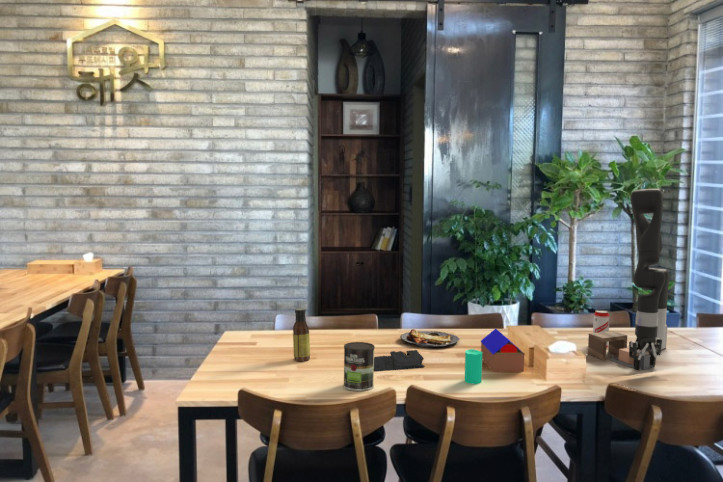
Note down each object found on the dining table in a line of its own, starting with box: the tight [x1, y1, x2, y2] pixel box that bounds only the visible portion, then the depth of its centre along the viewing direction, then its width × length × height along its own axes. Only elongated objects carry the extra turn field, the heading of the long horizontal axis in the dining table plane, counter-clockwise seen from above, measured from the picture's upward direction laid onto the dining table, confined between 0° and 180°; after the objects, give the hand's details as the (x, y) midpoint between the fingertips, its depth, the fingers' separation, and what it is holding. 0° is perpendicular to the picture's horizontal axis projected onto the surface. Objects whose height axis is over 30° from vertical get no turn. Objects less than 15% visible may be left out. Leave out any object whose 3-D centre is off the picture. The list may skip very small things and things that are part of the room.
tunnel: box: [587, 330, 628, 361], centre depth 264 cm, size 12×8×10 cm, turn 114°
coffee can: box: [343, 341, 376, 392], centre depth 228 cm, size 10×10×14 cm
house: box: [480, 328, 525, 373], centre depth 257 cm, size 12×20×12 cm, turn 3°
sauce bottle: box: [292, 307, 311, 363], centre depth 259 cm, size 7×6×20 cm
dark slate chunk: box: [374, 349, 426, 373], centre depth 255 cm, size 15×22×5 cm
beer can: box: [592, 309, 611, 349], centre depth 279 cm, size 6×6×16 cm
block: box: [619, 347, 639, 365], centre depth 255 cm, size 5×5×5 cm
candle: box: [464, 348, 483, 385], centre depth 235 cm, size 6×6×12 cm
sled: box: [609, 353, 654, 371], centre depth 253 cm, size 7×14×6 cm, turn 24°
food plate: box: [399, 329, 461, 348], centre depth 290 cm, size 25×23×4 cm
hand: (644, 368), depth 248 cm, fingers closed on sled, 6 cm apart
